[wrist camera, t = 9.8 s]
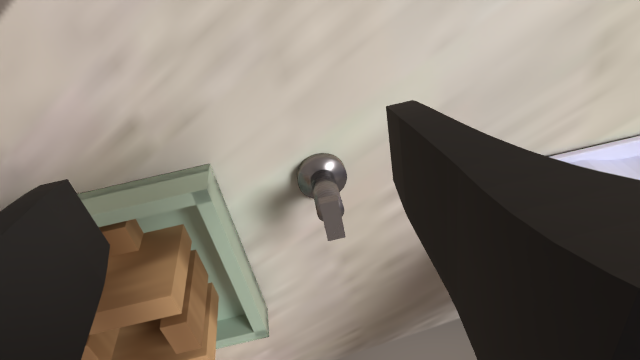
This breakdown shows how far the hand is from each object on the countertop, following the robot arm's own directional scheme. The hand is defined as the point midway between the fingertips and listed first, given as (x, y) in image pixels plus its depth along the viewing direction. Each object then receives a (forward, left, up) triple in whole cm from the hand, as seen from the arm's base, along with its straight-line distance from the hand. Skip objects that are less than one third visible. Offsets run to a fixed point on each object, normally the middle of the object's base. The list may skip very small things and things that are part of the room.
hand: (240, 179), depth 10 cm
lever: (-2, +7, -9) cm, 12 cm away
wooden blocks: (+8, +11, -9) cm, 16 cm away
